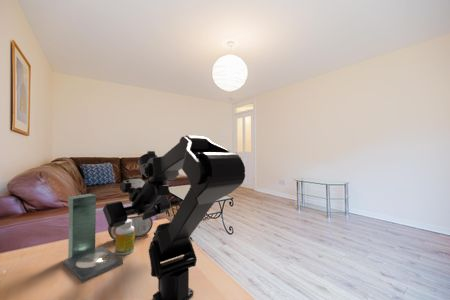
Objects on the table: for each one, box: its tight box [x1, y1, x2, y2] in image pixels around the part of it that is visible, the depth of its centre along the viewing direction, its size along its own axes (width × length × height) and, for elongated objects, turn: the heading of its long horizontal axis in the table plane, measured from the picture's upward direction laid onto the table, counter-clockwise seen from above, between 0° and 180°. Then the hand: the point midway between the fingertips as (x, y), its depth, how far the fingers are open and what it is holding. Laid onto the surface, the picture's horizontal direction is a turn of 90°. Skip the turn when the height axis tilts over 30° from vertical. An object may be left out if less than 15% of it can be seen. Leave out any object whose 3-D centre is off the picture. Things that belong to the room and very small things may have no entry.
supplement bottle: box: [114, 219, 135, 256], centre depth 64 cm, size 5×5×10 cm
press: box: [63, 193, 124, 283], centre depth 59 cm, size 24×10×18 cm, turn 55°
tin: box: [107, 214, 154, 241], centre depth 74 cm, size 15×3×8 cm, turn 124°
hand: (129, 222), depth 62 cm, fingers open, 9 cm apart
